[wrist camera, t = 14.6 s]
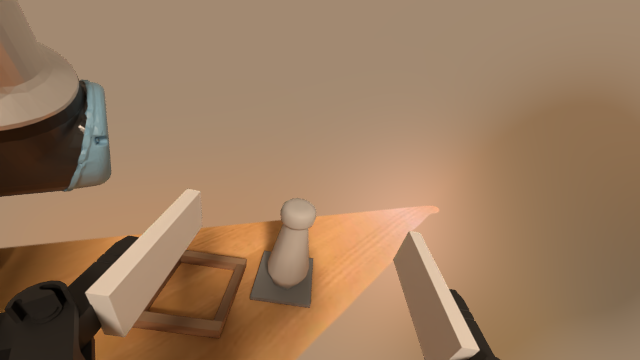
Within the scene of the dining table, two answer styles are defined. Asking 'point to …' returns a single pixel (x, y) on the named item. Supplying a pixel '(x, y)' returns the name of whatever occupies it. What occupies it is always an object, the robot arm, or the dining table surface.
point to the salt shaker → (292, 244)
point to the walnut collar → (195, 324)
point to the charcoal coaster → (275, 294)
